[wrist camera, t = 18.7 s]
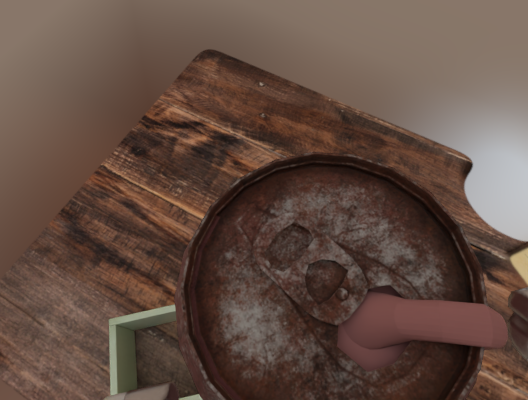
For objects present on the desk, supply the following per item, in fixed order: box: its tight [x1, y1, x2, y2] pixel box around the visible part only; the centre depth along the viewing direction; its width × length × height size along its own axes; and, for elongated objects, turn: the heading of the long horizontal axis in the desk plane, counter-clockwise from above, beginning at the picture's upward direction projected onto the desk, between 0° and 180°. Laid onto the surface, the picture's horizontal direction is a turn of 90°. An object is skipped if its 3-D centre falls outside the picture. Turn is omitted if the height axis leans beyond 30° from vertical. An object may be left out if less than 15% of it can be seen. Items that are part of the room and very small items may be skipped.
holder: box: [109, 304, 203, 400], centre depth 43 cm, size 11×11×6 cm
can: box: [174, 152, 508, 400], centre depth 13 cm, size 6×6×14 cm
